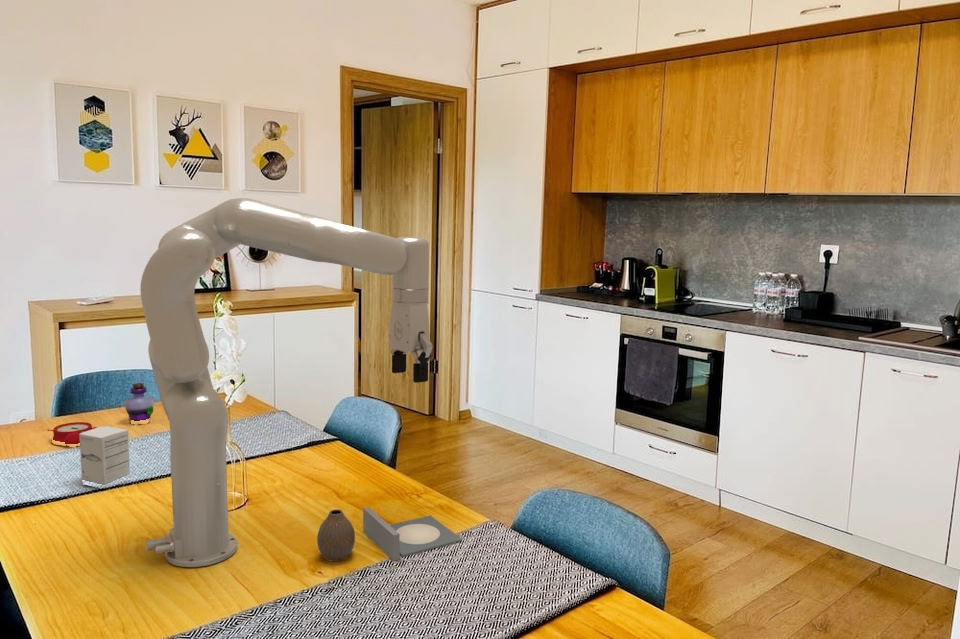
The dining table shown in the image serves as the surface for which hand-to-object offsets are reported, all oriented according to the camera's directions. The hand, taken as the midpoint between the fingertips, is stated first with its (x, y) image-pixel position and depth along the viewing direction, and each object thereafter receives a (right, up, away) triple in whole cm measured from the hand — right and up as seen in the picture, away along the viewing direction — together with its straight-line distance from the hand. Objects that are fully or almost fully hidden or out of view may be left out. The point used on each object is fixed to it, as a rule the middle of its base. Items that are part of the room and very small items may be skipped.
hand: (409, 377), depth 149 cm
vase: (-12, -32, -17) cm, 39 cm away
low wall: (-4, -32, -13) cm, 34 cm away
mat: (+2, -31, -8) cm, 32 cm away
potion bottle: (-87, -19, +62) cm, 108 cm away
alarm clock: (-95, -22, +44) cm, 107 cm away
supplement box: (-72, -26, +15) cm, 78 cm away
